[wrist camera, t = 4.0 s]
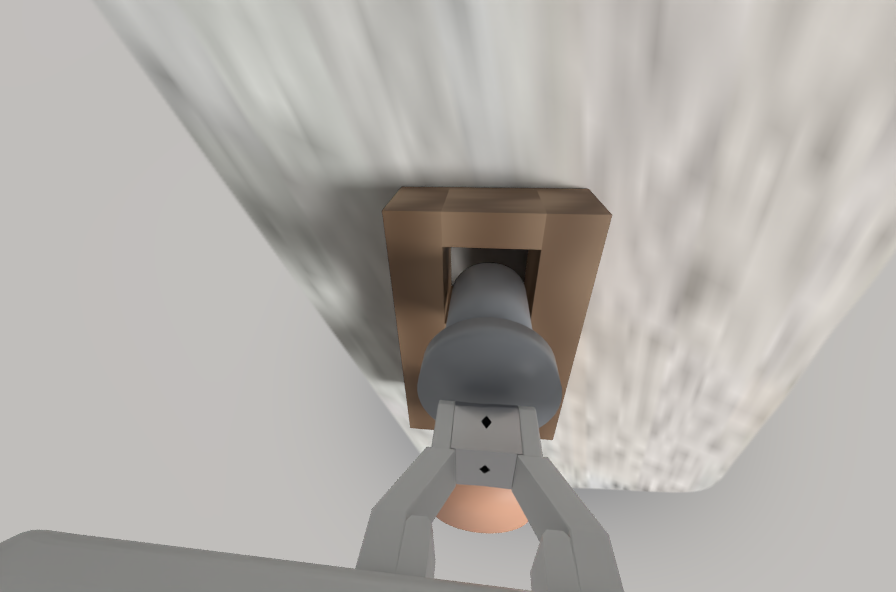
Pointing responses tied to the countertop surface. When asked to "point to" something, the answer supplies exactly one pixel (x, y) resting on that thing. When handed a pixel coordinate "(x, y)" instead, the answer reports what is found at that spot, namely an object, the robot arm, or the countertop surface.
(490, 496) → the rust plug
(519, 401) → the grey plug
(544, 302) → the wooden frame holder
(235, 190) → the countertop surface
